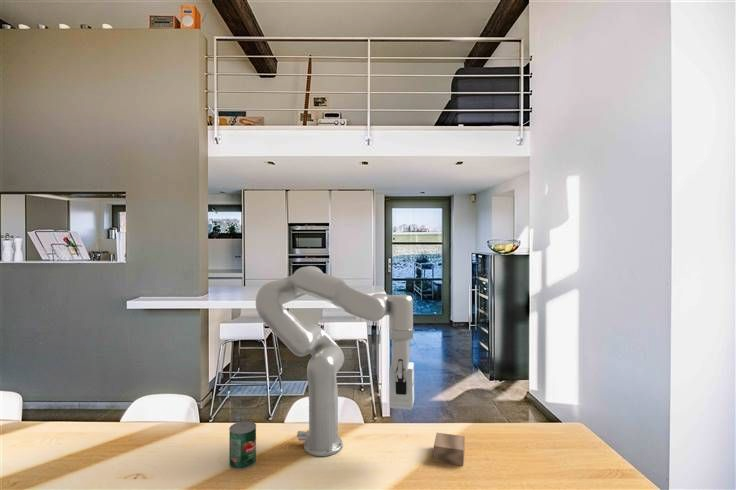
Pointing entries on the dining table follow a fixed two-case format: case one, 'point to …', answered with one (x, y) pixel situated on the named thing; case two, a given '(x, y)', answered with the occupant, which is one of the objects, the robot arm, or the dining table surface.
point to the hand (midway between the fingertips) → (402, 388)
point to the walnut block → (449, 449)
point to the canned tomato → (242, 445)
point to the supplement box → (408, 399)
